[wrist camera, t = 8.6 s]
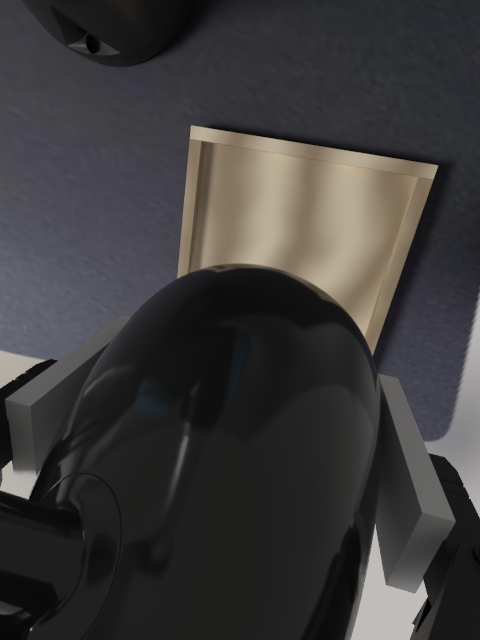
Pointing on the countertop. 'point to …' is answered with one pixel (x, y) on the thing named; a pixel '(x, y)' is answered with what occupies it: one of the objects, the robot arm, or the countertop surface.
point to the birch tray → (304, 215)
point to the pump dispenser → (206, 474)
